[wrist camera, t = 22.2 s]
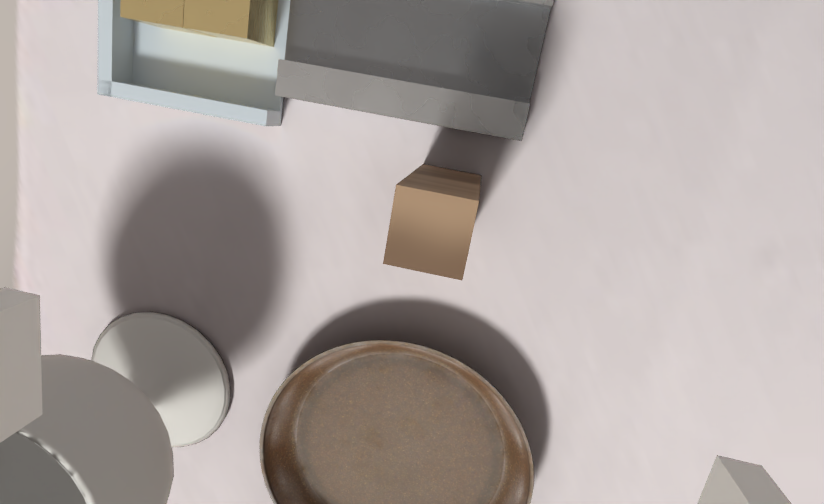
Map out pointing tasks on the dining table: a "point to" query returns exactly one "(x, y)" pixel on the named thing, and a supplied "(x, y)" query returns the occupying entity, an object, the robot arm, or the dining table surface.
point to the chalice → (117, 416)
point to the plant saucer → (392, 432)
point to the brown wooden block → (433, 221)
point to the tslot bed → (418, 59)
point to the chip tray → (190, 68)
